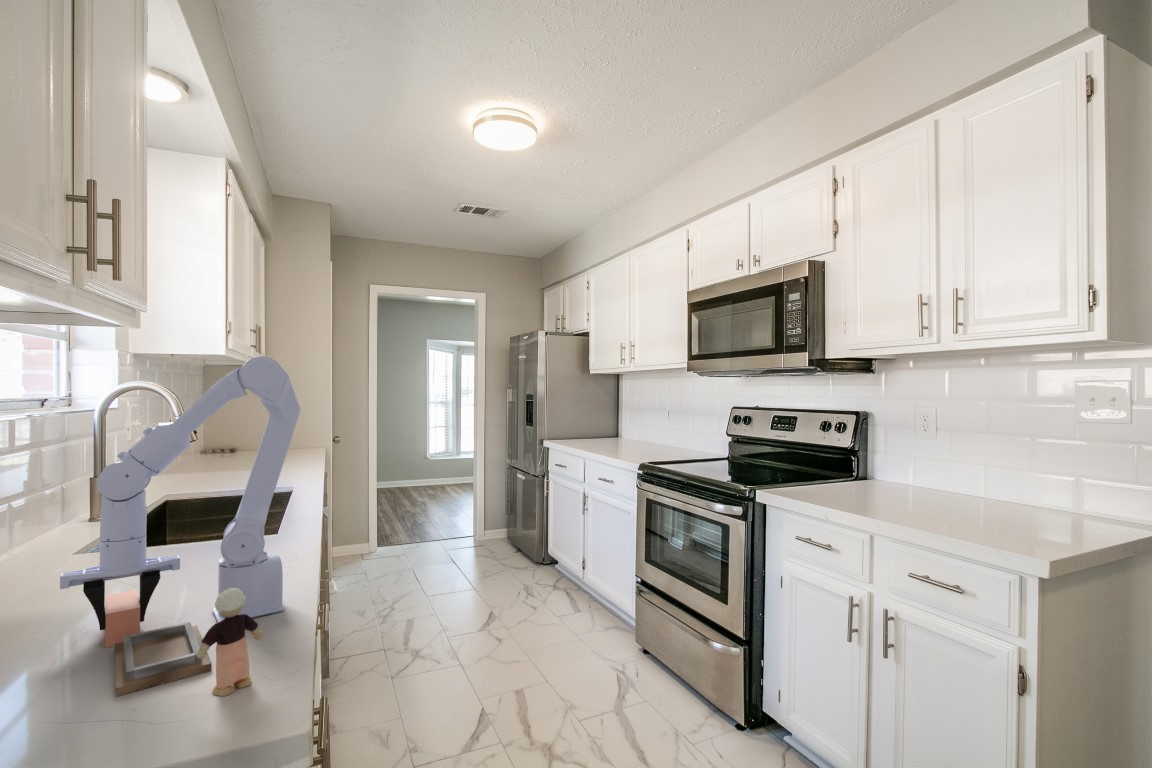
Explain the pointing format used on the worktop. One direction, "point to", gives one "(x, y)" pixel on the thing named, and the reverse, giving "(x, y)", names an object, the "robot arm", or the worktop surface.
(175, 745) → the worktop surface
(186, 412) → the robot arm
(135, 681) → the cradle
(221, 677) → the grandmother figurine
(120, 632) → the block
